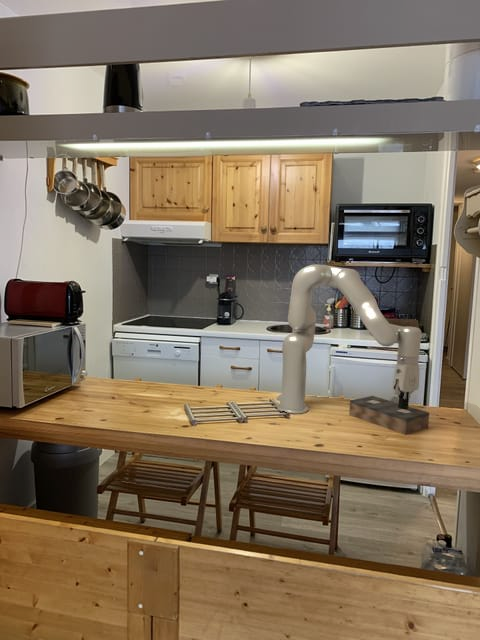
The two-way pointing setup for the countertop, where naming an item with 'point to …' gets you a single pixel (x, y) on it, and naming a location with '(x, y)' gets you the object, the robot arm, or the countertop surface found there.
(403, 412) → the peg
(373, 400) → the peg
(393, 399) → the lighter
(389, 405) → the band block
